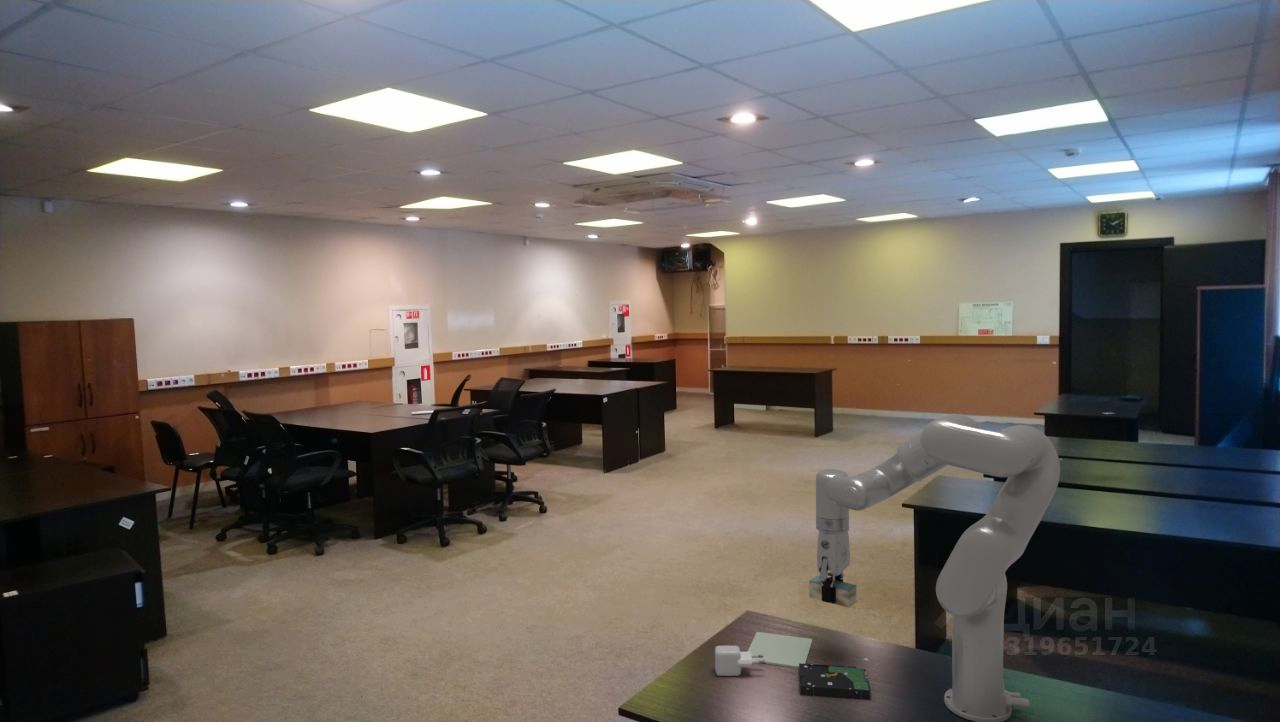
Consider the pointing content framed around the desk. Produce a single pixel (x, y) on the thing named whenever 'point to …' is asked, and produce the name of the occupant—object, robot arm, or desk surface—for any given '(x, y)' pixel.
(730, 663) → the power adapter
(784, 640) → the mat
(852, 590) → the teal-faced wooden block
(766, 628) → the desk surface
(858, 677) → the disk drive
